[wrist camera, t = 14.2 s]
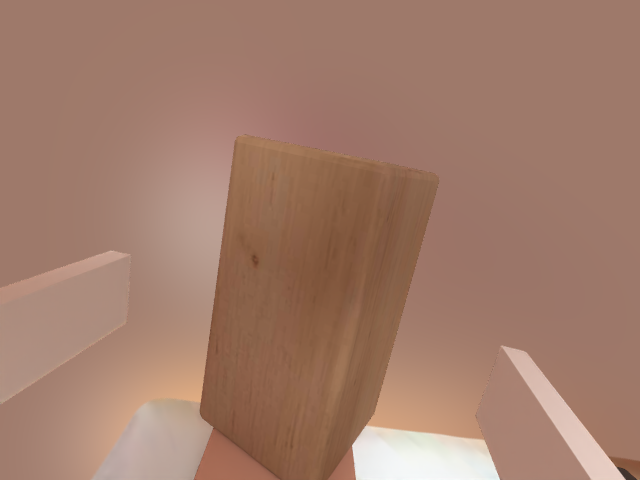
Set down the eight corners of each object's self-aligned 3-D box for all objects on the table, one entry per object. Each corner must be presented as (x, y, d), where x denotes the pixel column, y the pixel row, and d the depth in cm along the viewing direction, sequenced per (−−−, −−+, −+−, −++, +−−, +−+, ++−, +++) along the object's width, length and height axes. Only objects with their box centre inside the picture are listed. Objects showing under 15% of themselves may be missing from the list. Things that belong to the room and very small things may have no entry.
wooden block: (195, 417, 25) (232, 131, 20) (280, 360, 33) (321, 150, 28) (310, 508, 20) (394, 164, 15) (375, 415, 29) (442, 175, 24)
